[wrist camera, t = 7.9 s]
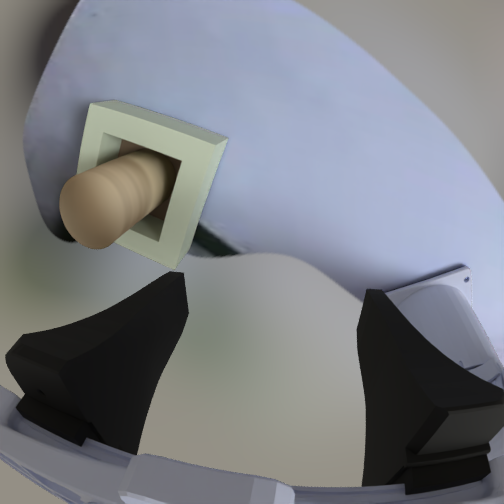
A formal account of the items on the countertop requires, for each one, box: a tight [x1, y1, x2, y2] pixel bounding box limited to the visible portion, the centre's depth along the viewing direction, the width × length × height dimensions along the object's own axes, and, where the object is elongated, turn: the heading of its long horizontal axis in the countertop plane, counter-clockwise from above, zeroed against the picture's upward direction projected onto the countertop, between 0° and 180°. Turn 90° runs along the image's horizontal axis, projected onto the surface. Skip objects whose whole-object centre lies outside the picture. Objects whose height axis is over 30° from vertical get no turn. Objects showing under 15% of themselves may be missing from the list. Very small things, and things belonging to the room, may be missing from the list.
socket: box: [76, 100, 228, 270], centre depth 19 cm, size 8×8×3 cm
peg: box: [59, 148, 176, 249], centre depth 17 cm, size 4×4×7 cm
